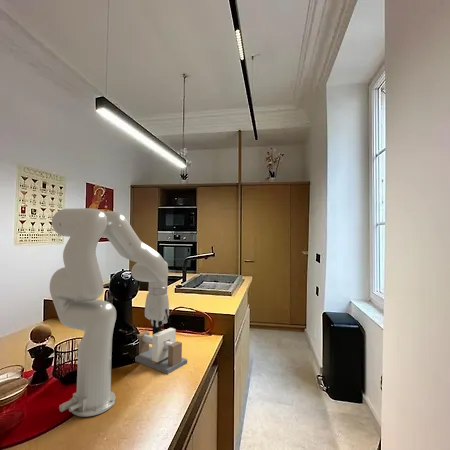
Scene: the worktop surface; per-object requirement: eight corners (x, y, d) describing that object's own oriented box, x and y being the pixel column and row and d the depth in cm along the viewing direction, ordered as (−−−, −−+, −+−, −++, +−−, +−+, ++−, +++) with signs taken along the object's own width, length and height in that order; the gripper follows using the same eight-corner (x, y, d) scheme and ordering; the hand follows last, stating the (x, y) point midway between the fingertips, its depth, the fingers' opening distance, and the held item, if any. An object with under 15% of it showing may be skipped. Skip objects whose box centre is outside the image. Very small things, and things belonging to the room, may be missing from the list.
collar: (157, 362, 112) (158, 336, 112) (151, 360, 114) (152, 334, 114) (175, 353, 120) (175, 329, 120) (169, 351, 122) (170, 327, 122)
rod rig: (167, 374, 108) (168, 349, 108) (129, 358, 120) (129, 336, 120) (187, 363, 117) (187, 340, 117) (149, 349, 129) (149, 329, 129)
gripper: (138, 290, 121) (137, 334, 120) (164, 295, 112) (162, 342, 112) (152, 287, 127) (151, 329, 127) (177, 292, 119) (176, 337, 118)
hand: (156, 335), depth 119 cm, fingers closed
